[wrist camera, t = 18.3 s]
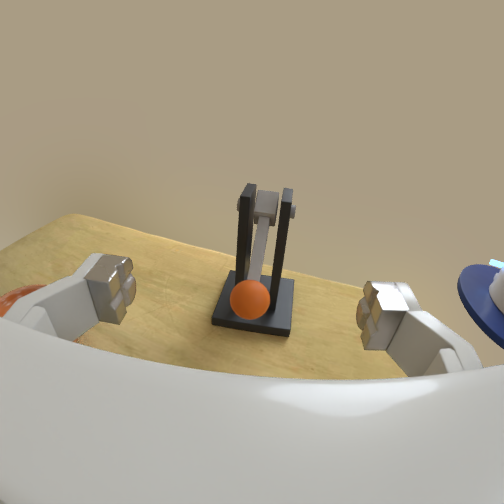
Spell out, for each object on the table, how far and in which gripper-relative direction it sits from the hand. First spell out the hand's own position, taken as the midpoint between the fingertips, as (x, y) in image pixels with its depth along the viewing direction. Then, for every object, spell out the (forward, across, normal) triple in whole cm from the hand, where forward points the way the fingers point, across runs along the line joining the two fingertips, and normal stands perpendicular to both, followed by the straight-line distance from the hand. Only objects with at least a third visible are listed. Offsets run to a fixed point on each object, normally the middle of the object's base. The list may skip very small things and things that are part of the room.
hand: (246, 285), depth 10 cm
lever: (+18, 0, +10) cm, 20 cm away
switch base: (+21, -1, +19) cm, 28 cm away
